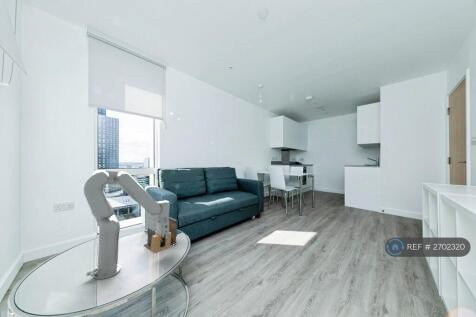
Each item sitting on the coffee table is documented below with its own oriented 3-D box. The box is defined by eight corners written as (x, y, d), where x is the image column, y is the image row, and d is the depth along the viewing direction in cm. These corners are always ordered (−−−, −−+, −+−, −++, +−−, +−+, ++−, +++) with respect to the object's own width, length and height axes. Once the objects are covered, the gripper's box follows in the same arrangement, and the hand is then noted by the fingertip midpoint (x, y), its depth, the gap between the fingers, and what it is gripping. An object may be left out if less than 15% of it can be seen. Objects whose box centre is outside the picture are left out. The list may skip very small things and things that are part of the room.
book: (153, 252, 117) (154, 237, 117) (150, 250, 119) (151, 235, 120) (170, 247, 126) (171, 232, 127) (167, 245, 129) (168, 231, 129)
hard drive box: (164, 229, 169) (165, 208, 169) (160, 233, 161) (161, 211, 162) (149, 228, 171) (150, 208, 171) (144, 231, 163) (145, 210, 163)
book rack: (154, 252, 127) (155, 226, 127) (143, 245, 137) (144, 220, 137) (176, 244, 141) (177, 220, 142) (165, 238, 151) (166, 215, 152)
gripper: (174, 220, 121) (172, 247, 121) (161, 215, 132) (159, 240, 131) (164, 223, 116) (162, 251, 115) (151, 217, 126) (149, 243, 125)
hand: (160, 245), depth 123 cm, fingers closed on book, 4 cm apart
